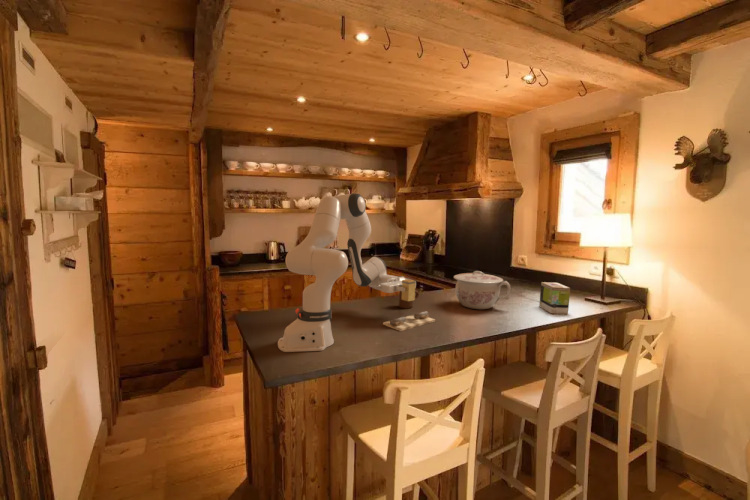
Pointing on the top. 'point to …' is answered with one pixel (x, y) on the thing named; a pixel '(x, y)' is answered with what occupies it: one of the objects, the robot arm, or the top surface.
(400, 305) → the mug
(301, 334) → the robot arm
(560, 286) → the tea box
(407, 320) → the beige bumpy flat tray
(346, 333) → the top surface
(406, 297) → the pale yellow tall box
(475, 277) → the chamber pot
